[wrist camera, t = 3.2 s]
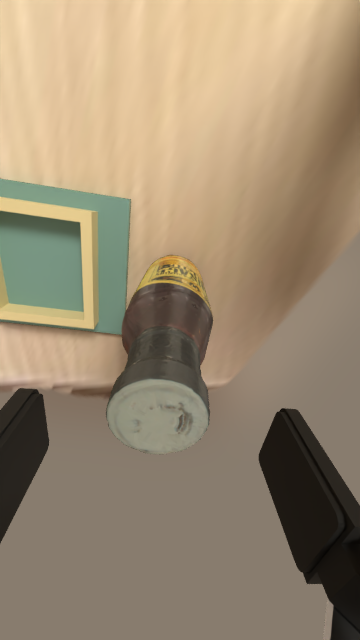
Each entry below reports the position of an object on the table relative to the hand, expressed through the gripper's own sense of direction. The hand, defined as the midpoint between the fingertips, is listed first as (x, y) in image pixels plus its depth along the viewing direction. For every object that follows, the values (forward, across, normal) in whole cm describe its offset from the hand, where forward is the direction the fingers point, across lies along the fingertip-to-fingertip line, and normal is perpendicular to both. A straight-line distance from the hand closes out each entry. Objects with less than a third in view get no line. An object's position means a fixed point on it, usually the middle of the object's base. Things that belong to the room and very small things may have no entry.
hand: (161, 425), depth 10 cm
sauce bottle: (+20, 0, -1) cm, 20 cm away
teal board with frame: (+20, +13, -1) cm, 24 cm away
